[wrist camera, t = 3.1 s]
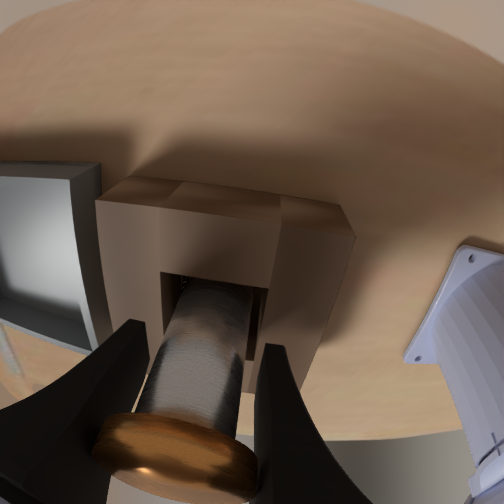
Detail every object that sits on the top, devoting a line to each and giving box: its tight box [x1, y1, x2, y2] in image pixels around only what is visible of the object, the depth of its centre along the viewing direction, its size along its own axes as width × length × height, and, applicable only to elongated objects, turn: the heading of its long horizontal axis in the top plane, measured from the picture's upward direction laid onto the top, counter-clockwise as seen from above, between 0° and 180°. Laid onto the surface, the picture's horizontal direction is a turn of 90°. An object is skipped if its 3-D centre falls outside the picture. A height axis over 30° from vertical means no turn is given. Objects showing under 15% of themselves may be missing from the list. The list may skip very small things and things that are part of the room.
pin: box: [91, 276, 258, 504], centre depth 10 cm, size 4×4×9 cm
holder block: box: [95, 176, 356, 394], centre depth 13 cm, size 9×9×3 cm
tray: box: [0, 161, 114, 355], centre depth 14 cm, size 10×10×2 cm
